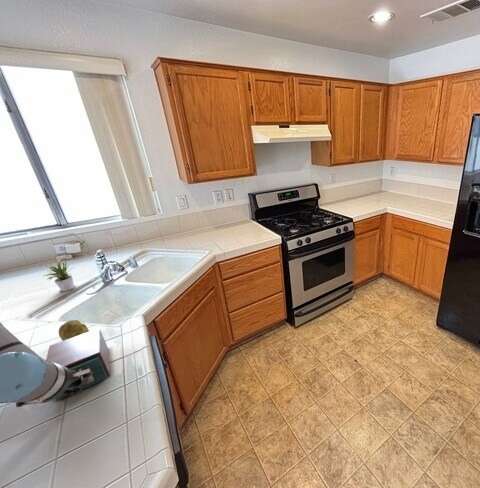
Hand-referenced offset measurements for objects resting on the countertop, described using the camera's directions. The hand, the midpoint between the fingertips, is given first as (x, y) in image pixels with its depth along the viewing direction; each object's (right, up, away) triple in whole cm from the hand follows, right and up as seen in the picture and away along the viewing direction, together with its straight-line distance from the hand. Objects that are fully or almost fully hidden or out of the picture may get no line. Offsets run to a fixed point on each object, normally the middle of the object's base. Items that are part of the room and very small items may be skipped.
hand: (77, 389), depth 73 cm
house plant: (-71, +16, +69) cm, 100 cm away
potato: (-24, +3, +26) cm, 36 cm away
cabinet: (-9, -1, +12) cm, 15 cm away
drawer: (-6, -2, +9) cm, 11 cm away
